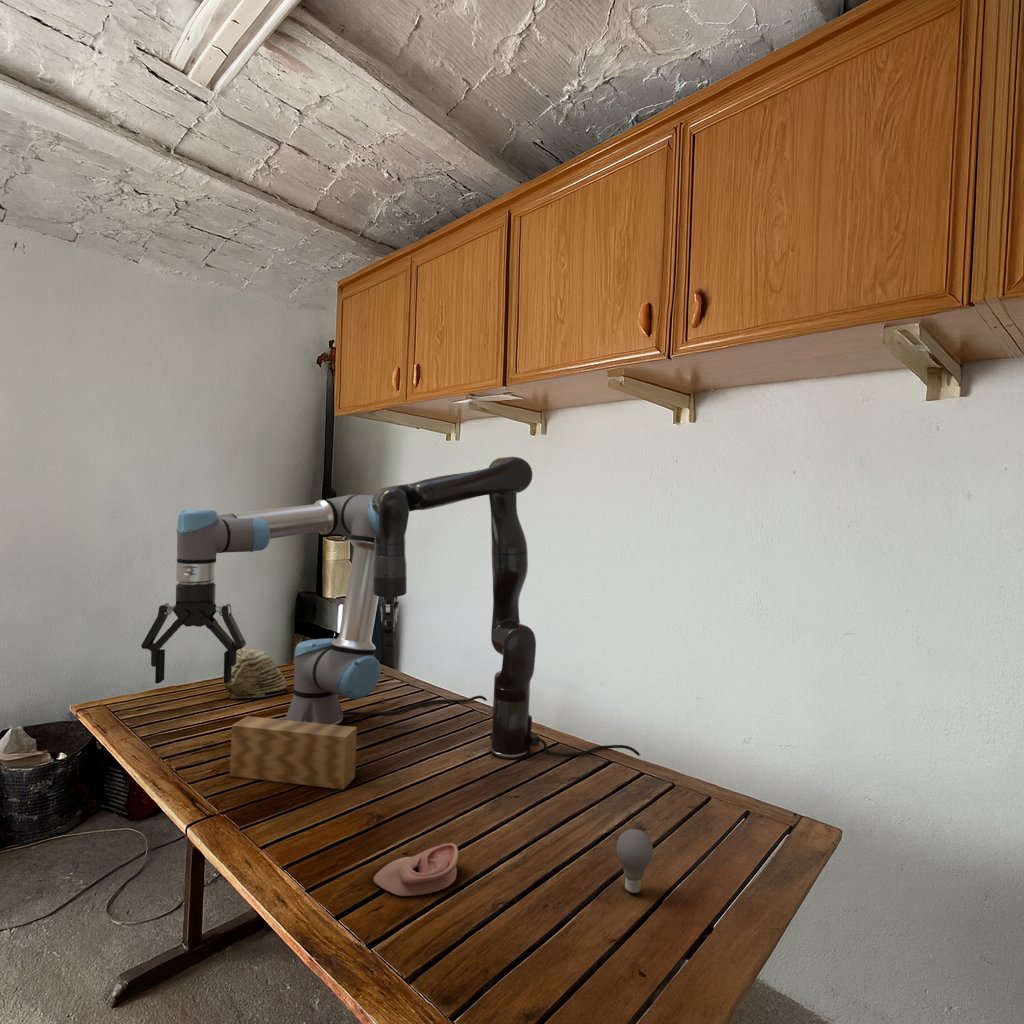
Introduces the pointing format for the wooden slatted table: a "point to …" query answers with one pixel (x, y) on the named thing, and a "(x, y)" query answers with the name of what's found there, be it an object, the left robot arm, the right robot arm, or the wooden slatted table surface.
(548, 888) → the wooden slatted table surface
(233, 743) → the box
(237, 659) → the fossil
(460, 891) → the wooden slatted table surface
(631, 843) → the light bulb
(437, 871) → the anatomical model
